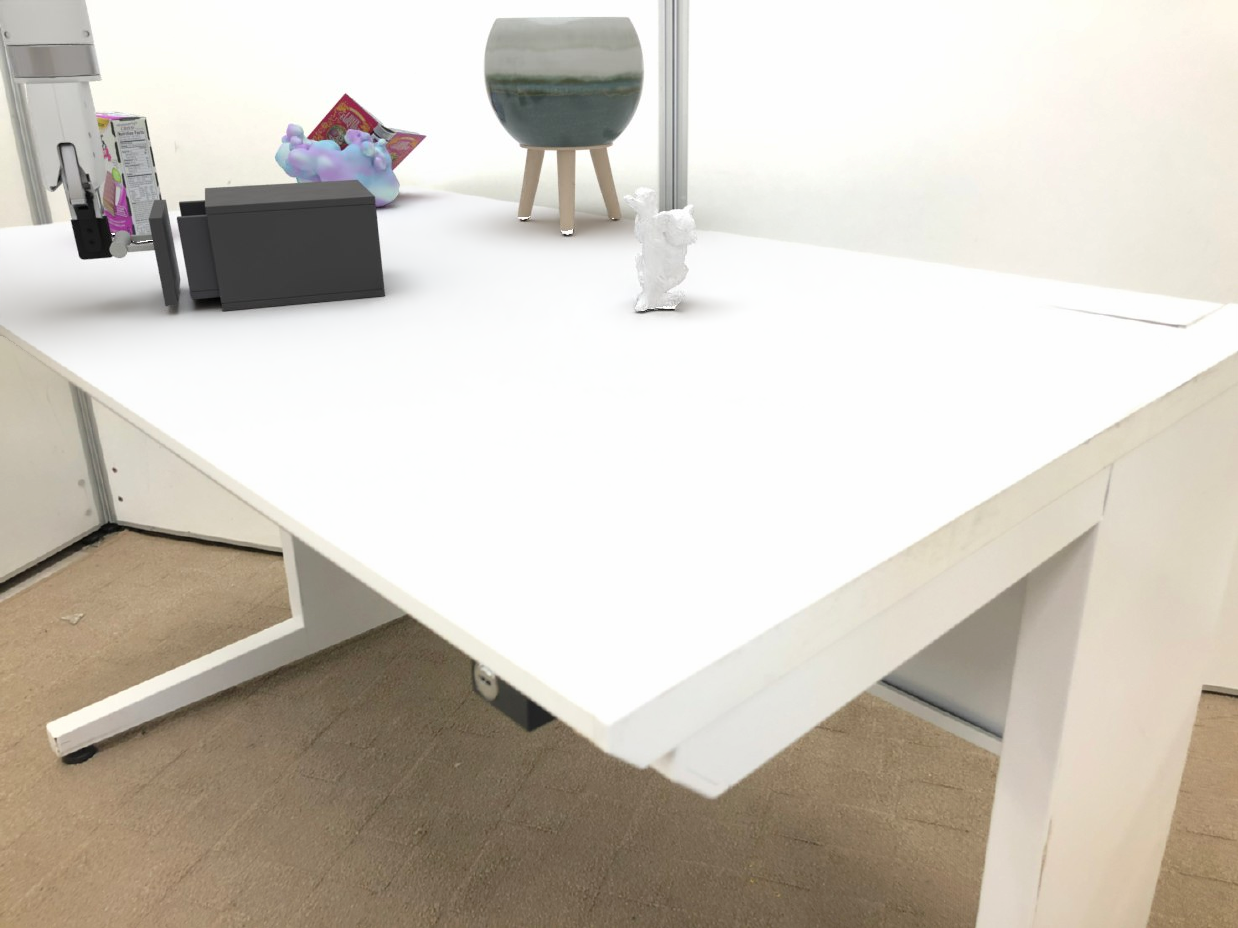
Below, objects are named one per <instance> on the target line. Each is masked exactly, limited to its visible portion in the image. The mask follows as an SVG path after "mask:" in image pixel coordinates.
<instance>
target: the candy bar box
mask: <svg viewBox="0 0 1238 928" xmlns="http://www.w3.org/2000/svg"><path fill="white" fill-rule="evenodd" d="M95 112H96V117H97V122H98V126H99V132H100V137H101V142H102V148H103V154H104V161H105V168H106V178H105V180H104V181H103V183H102V184H101V185H100V190H101V195H102V201H103V206H104V211H105V215H103V216H107V217H108V222H109V227H110V231H111V233H115V234H116V233H117V232H118V231H126V232H128V233H129V234H130V235H139V234H151V229H150V224H149V216H150V213H151V209H152V206H153V203H154V200H163V198H162V194H161V187H160V182H159V178H158V173H157V168H156V167H157V166H156V163H155V156H154V153H153V146H152V142H151V137H150V132H149V126H148V121H147V117H146V116H144V115H140V114H139V115H138V114H132V113H131V114H130V113H125V112H119V111H113V110H111V111H95ZM134 242H140V241H134ZM134 242H133V243H134Z"/></svg>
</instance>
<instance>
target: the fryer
mask: <svg viewBox="0 0 1238 928" xmlns="http://www.w3.org/2000/svg"><path fill="white" fill-rule="evenodd" d="M204 200H205V210H206V216H207V222H208V228H209V234H210V240H211V246H212V251H213V257H214V263H215V269H216V275H217V281H218V287H219V293H220V297H219V298H220V303H221V304H220V305H221V310H222V312H229V311H239V310H250V309H260V308H261V309H262V308H271V307H282V306H293V305H303V304H314V303H324V302H336V301H346V300H359V299H368V298H378V297H379V298H380V297H385V296H386V291H385V281H384V271H383V261H382V253H381V252H382V251H381V240H380V233H379V223H378V222H379V221H378V213H377V207H376V204H375V203H376V202H375V196H374V195H373V194H372V193H371V192H370V191H369V190H368V189H367V188H366V187H365V186H364V185H363V184H362V183H360V182H359V181H358V180H342V181H324V182H306V183H297V182H292V183H291V182H289V183H273V184H271V183H270V184H254V185H253V184H252V185H238V186H237V185H236V186H218V187H217V186H216V187H205V188H204Z"/></svg>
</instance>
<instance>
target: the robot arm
mask: <svg viewBox="0 0 1238 928" xmlns="http://www.w3.org/2000/svg"><path fill="white" fill-rule="evenodd" d="M87 6H88V5H87V1H86V0H0V29H1V32H2V37H3V41H4V45H5V50H6V53H7V57H8V61H9V66H10V70H11V74H12V78H13V83H14V84H22V85H23V84H24V85H25V88H26V89H25V90H26V91H25V92H26V99H27V107H28V112H29V117H30V123H31V128H32V134H33V139H34V144H35V149H36V154H37V158H38V159H37V160H38V164H39V169H40V175H41V180H42V184H43V187H44V189H45V190H46V191H48V192H50V193H53V192H55V191H56V190H58V188H59V187H61V186H63V190H64V194H65V198H66V202H67V207H68V211H69V214H70V218H71V219H70V224H71V229H72V233H73V236H74V241H75V245H76V250H77V254H78V257H79V260H80V259H81V260H83V261H86V260H98V259H110V258H114V256H112V254H111V253H110V246H111V244H112V241H113V237H112V235H111V231H110V227H109V222H108V217H107V216H103V215H105V211H104V206H103V201H102V195H101V190H100V185H101V184H102V183H103V181H104V180H105V178H106V168H105V161H104V154H103V148H102V142H101V137H100V132H99V126H98V122H97V117H96V112H97V111H96V108H95V103H94V99H93V94H92V90H91V84H90V82H101V81H102V80H103V79H102V75H101V70H100V69H101V68H100V64H99V60H98V55H97V50H96V46H95V39H94V35H93V30H92V26H91V21H90V16H89V12H88V7H87Z"/></svg>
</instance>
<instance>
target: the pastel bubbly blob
mask: <svg viewBox="0 0 1238 928" xmlns="http://www.w3.org/2000/svg"><path fill="white" fill-rule="evenodd" d="M285 133H286V134H285V135H283V136H282V137H281V144H280V146H279V147H278V149H277V150H276V153H275V155H274V159H275V162H276V163H277V164H278V166H279V167H280V168H281V169H282V170H283V171H284V173H285V174H286V175H287V176H288V177H290V178H294V179H295V180H296V183H306V182H324V181H342V180H358V181H359V182H360V183H362V184H363V185H364V186H365V187H366V188H367V189H368V190H369V191H370V192H371V193H372V194H373V195H374V196H375V202H376V203H375V204H376V208H380V207H384V206H385V205H388V204H390V203H392V202H393V201H395V199H396V198H397V196H398V195H399V191H400V186H401V184H400V181H399V179H398V178H397V175H396V174H395V172H394V170H395V169H396V168H397V167H398V166H399V165H401V163H402V162H404V160H405V159H406V158H407V157H408V156H409V155H410V154H411V153H412V152H413V151H414V150H415V149H416V148H417V147H418V146H419V145H420V144H421V143H422V142H423V141H424V140H425V139H426V138H427V134H426V135H424V134H420V133H419V132H417V131H410V130H404V129H399V128H393V127H386V126H385V124H384V123H383V122H382V121H381V120H380V119H379V118H377V117H376V116H375V115H374V114H372V113H371V112H370V111H368V109H366V108H365V107H363V106H362V105H361V104H359V102H357V100H355V99H354V98H353V97H351V96H350V95H349V94H348V93H347V92H345V93H344V94H343V95H342V96H341V97H340V99H339V100H338V101H337V102H336V103H335V104H334V105H333V106H332V108H331V109H330V110H329V111H328V113H327V114H326V115H325V116H324V117H323V118H322V119H321V121H320V122H319V123H318V124H317V125H316V126H315V127H314V129H313V130H312V131H311V132H310V133H309V135H307V136H306V135H305V131H304V129H303V127H302V126H301V125H300V124H294V123H289V124H288V125H287V127H286V132H285Z"/></svg>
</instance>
